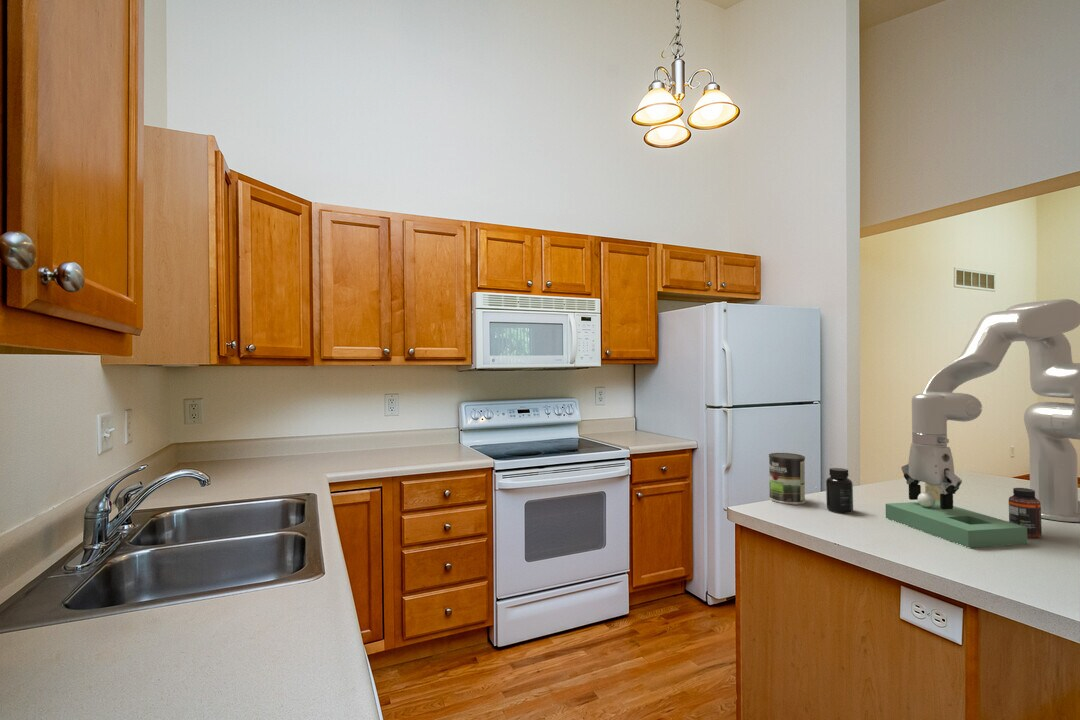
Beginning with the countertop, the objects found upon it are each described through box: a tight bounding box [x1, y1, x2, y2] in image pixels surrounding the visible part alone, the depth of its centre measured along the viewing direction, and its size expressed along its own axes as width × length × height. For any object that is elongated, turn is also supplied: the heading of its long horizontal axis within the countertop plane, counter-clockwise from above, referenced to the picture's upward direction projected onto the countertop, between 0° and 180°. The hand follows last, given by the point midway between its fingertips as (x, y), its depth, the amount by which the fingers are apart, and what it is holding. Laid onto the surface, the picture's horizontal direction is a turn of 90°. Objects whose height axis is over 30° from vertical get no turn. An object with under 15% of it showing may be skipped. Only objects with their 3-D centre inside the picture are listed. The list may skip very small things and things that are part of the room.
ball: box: [917, 491, 936, 507], centre depth 141 cm, size 4×4×4 cm
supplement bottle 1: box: [825, 467, 854, 514], centre depth 153 cm, size 7×7×12 cm
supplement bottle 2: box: [1008, 487, 1043, 539], centre depth 130 cm, size 6×6×11 cm
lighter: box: [924, 482, 947, 502], centre depth 153 cm, size 7×4×10 cm, turn 23°
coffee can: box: [768, 452, 806, 505], centre depth 165 cm, size 10×10×14 cm
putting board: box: [885, 501, 1028, 548], centre depth 134 cm, size 16×24×4 cm, turn 8°
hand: (930, 504), depth 140 cm, fingers open, 9 cm apart
